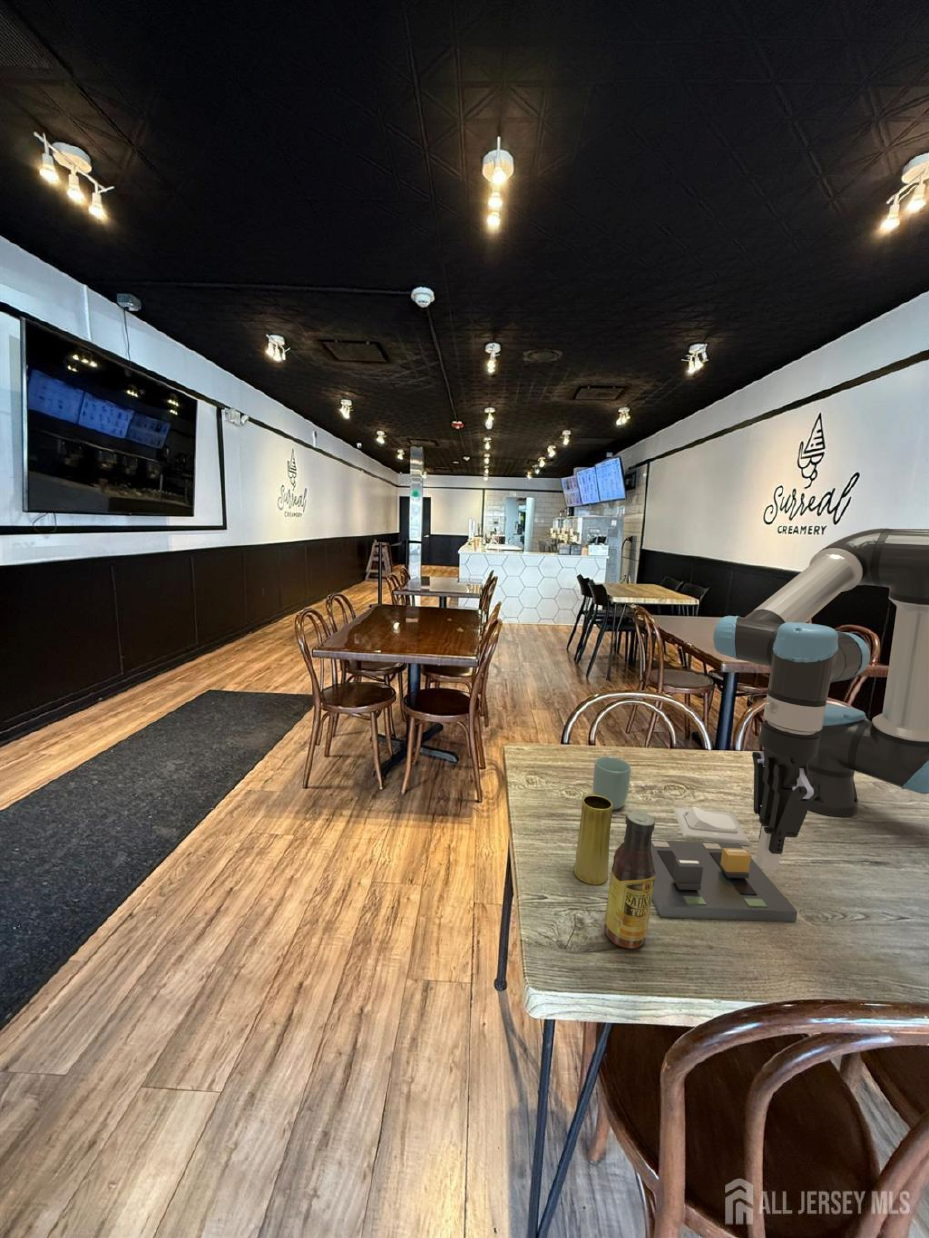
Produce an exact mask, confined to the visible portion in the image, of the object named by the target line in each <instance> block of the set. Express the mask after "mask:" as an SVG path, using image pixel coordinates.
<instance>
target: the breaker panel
mask: <svg viewBox="0 0 929 1238" xmlns="http://www.w3.org/2000/svg"><path fill="white" fill-rule="evenodd" d="M723 848H733V849H744V848H743V847H742V845H740V844H739V843H722V842H715V841H690V840H687V841H685V840H665V839H664V840H661V839H651V854H652V859H653V864H654V869H655V881H654V888H653V895H652V903H653V904H654V907H655V909H656V911H657V913H658V915H659V917H660V918H670V919H671V918H672V919H674V918H675V919H676V918H677V919H693V920H694V919H695V920H699V919H700V920H702V919H703V920H724V921H725V920H726V921H729V920H730V921H746V922H747V921H748V922H750V921H751V922H752V921H753V922H754V921H755V922H777V923H797V922H796V921H797V916H798V911H797V909H796V908H795V907H794V906H793V904H792V903H791V902H790V901H789V900H788V899H787V898H786V897H785V895H783V893H782V892H781V891H780V889H779V888H778V887H777V886H776V885H775V884H774V883H773V881H772V880H771V879H770V878H769V876H767V875H766V873H765V872H764V871H763V869H760V867H759V866H758V865H757V864H756V861H755V860H753V858H752V857H751V860H750V867H749V872H748V874H749V877H748V878H728V877H727V876H726V874H725V873H724V872H723V870H722V869H721V868H720V862H721V856H722V849H723ZM675 859H698V860H699V861H700V863H701V864H702V866H703V874H702V881H701V884H700V885H701V890H681V889H679V888H678V886H677V885H676V883H675V881H674V880H673V878H672V875H673V869H674V861H675Z"/></svg>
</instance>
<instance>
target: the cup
mask: <svg viewBox="0 0 929 1238" xmlns="http://www.w3.org/2000/svg"><path fill="white" fill-rule="evenodd" d="M631 774H632V767H631V764H630V763H629V762H627V761H626V760H624V759H621V758H618V757H615V756H600V757H598V758H597V759H595V762H594V766H593V777H592V795H600V796H603V797H606V798H608V799H609V800H610V801H611V802H612V804H613V809H612V811H614V810H619V809H620V808H622V807H624V805H625V803H626V802H627V798H628V796H629V795H628V794H629V791H630V783H631Z"/></svg>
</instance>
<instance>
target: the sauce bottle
mask: <svg viewBox="0 0 929 1238" xmlns="http://www.w3.org/2000/svg"><path fill="white" fill-rule="evenodd" d="M655 824H656V822H655V818H654V817H653V815H652V816H651V815H650V814H648V813H647V812H643V811H639V810H631V811H628V812H627V813H626V817H625V825H626V826H625V833H624V834H625V835H624V838H623V842H622V843H621V844H620V845H619V846H618V847H617V848H616V849H615V852H614V856H613V862H612V867H611V872H610V876H609V879H610V880H609V887H608V892H607V899H606V900H607V901H606V909H605V916H604V922H605V923H604V931H605V934H606V936H607V938H608V939H609V940H610V941H611V942H612V943H613V944H614V945H616V946H618V947H621V948H624V949H629V950H631V949H638V948H640V947H641V946H642V945H643V944H644V942H645V940H646V937H647V933H648V928H649V922H650V915H651V906H652V903H653V901H652V895H653V888H654V881H655V869H654V864H653V859H652V854H651V840H652V836H653V832H654V830H655V826H656V825H655Z"/></svg>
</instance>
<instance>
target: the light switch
mask: <svg viewBox="0 0 929 1238" xmlns="http://www.w3.org/2000/svg"><path fill="white" fill-rule="evenodd" d="M673 813H674V815H675V819H676V821H677V823H678V826H679V829H680V831H681V834H682V837H684V838H688V839H690V838H691V839H694V840H695V839H696V840H702V841H708V842H716V843H739V844H740V845H741V846H751V841H750V840H749V838H748V837H747V835H746V833H745V831H744V830H743V828H742V826H741V825H740V823H739V821H738V819H737V818H736V816H735V814H733V813H732V812H731V811H730V812H729V811H718V810H716V811H715V810H706V809H701V808H700V807H696V806H693V807H691V808H682V807H680V808H679V807H675V808H674V809H673Z"/></svg>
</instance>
